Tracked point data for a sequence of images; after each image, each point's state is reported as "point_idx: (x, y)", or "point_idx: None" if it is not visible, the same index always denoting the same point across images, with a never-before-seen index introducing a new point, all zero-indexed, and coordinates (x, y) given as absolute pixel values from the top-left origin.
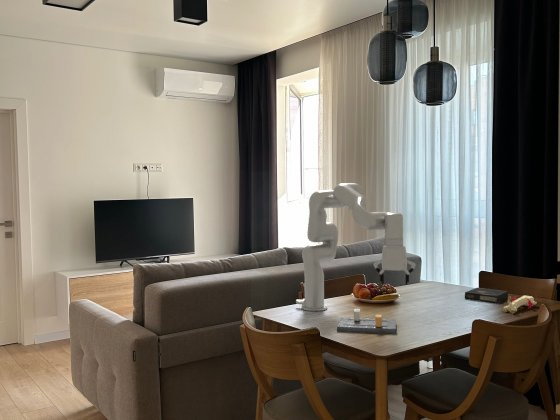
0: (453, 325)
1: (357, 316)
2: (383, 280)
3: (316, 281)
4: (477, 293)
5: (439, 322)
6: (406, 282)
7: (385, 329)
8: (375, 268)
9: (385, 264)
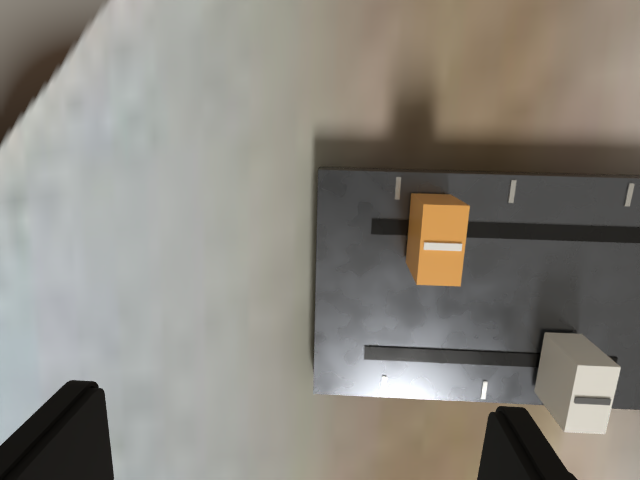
0: (10, 375)
1: (572, 346)
2: (517, 455)
3: None
4: None
5: None
6: (66, 396)
7: (384, 170)
8: None
9: None
